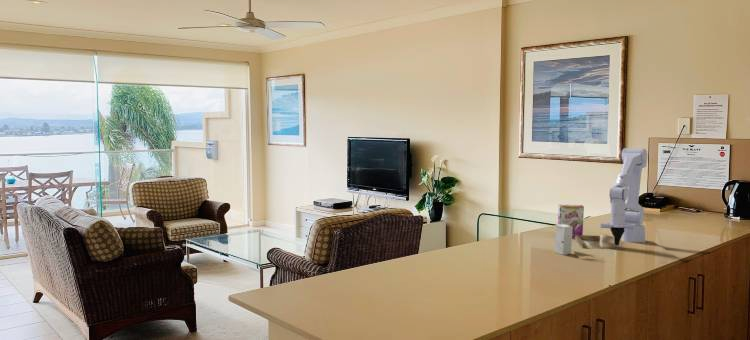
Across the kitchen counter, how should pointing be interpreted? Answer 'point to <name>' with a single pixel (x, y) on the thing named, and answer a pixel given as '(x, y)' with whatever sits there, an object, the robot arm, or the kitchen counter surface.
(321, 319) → the kitchen counter surface
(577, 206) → the candy bar box
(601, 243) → the block
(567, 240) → the skincare box
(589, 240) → the board
